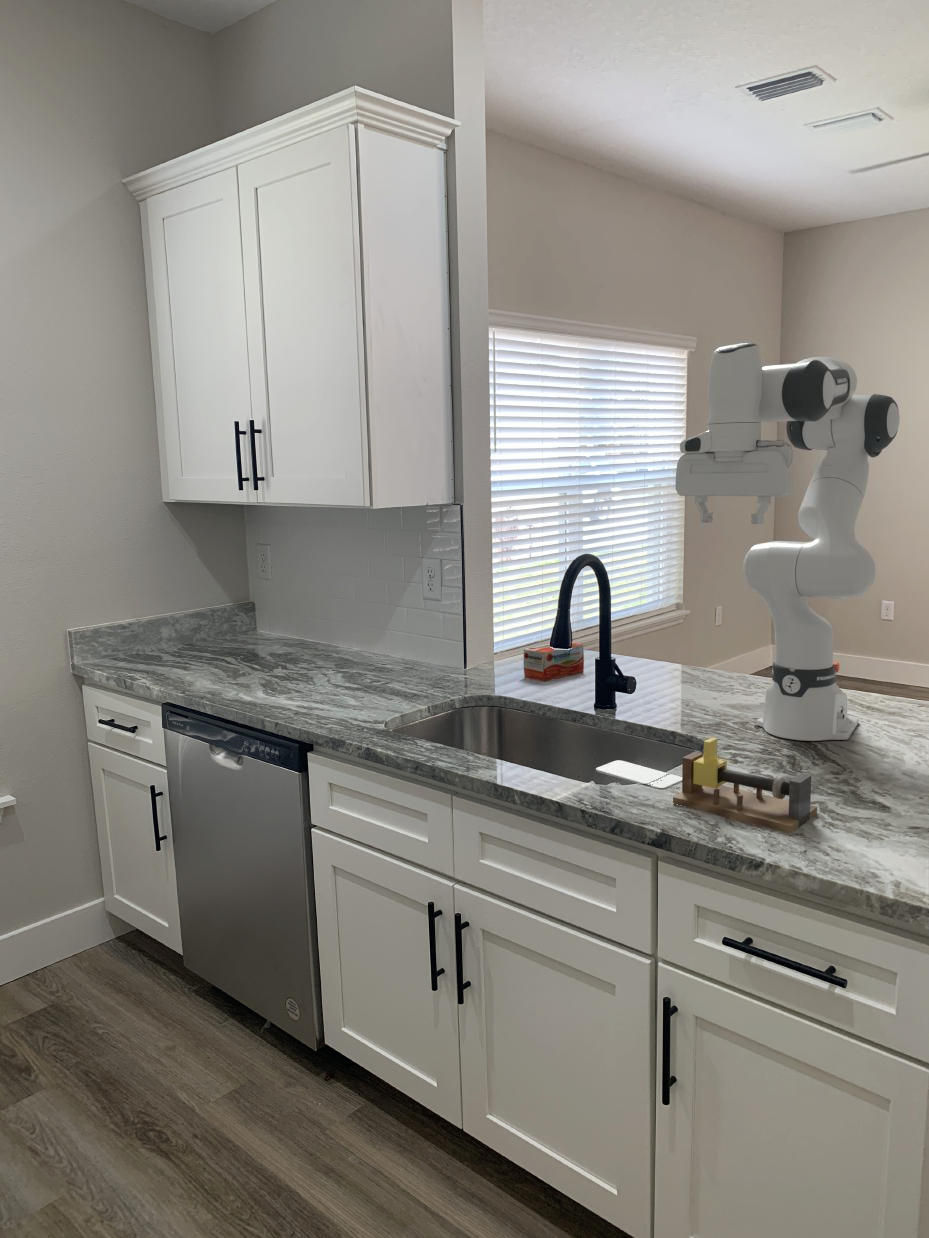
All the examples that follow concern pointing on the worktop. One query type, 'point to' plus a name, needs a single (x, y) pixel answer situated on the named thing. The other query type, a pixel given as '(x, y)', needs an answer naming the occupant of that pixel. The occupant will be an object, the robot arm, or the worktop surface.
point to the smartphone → (638, 774)
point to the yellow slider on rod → (750, 797)
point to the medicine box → (553, 662)
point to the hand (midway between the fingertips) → (731, 523)
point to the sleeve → (709, 766)
